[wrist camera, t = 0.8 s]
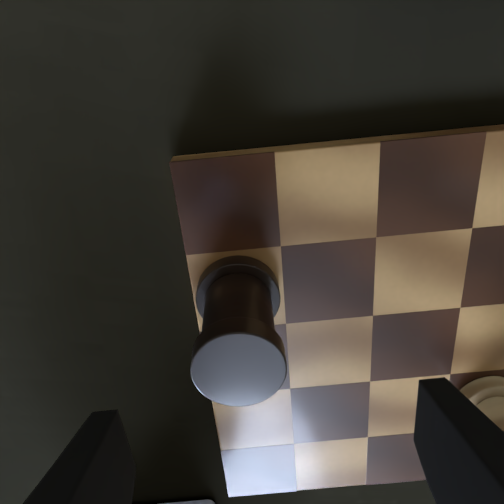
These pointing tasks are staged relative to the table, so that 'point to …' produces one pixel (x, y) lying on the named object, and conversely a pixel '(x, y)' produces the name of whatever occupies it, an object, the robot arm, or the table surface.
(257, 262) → the rook
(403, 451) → the chessboard
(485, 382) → the pawn
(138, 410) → the table surface
